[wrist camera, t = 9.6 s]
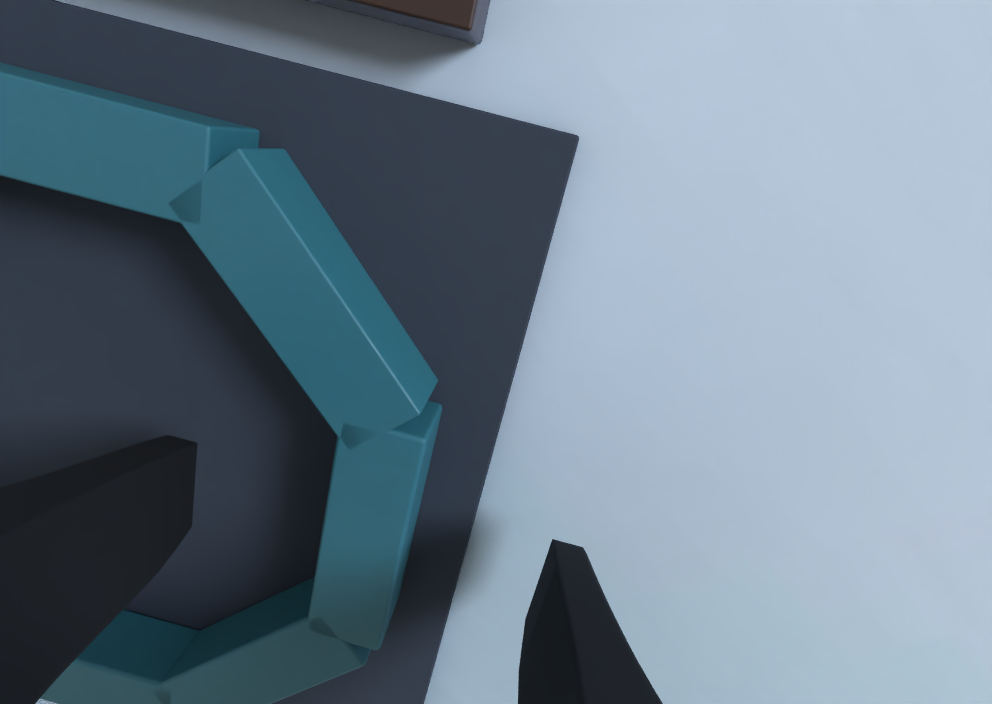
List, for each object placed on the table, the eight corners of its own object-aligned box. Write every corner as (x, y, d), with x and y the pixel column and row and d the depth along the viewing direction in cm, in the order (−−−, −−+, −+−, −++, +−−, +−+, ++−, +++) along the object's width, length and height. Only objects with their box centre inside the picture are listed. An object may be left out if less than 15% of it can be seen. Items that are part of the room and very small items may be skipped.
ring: (-131, 582, 15) (-207, 630, 14) (-237, 0, 10) (-373, -26, 9) (370, 722, 15) (348, 787, 13) (493, 190, 10) (481, 196, 9)
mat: (-150, 594, 16) (-168, 605, 15) (-284, -87, 10) (-316, -95, 10) (410, 751, 16) (406, 766, 15) (579, 136, 10) (580, 135, 10)
